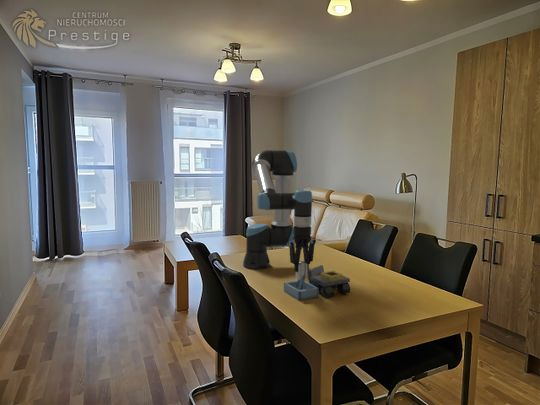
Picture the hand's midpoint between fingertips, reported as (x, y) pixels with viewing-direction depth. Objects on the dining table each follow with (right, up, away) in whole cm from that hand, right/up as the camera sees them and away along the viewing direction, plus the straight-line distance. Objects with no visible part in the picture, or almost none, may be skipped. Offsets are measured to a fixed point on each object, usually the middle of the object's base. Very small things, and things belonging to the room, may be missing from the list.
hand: (301, 278), depth 160 cm
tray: (0, -7, +1) cm, 7 cm away
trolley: (+13, -7, +4) cm, 15 cm away
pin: (0, -5, 0) cm, 5 cm away
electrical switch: (+8, -6, +13) cm, 17 cm away
